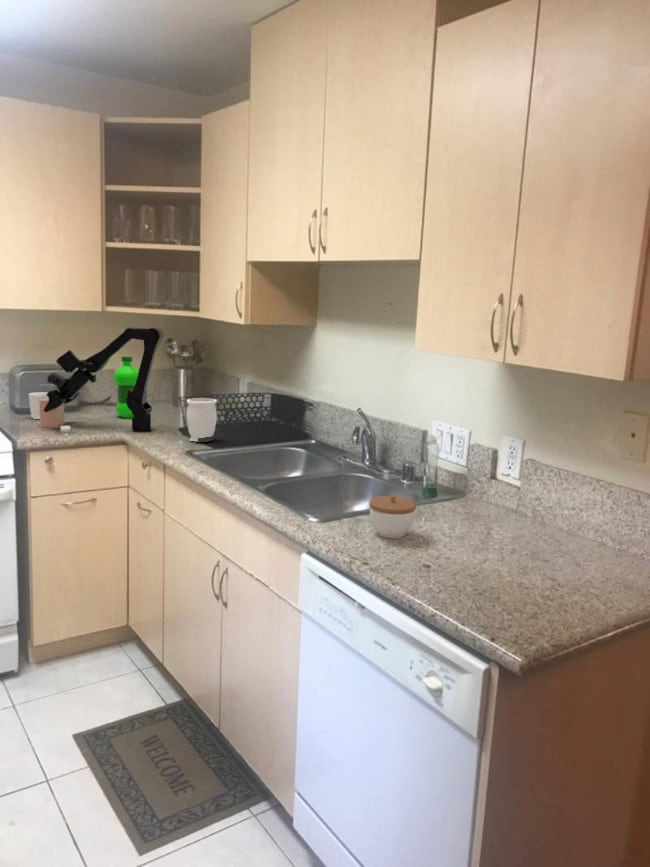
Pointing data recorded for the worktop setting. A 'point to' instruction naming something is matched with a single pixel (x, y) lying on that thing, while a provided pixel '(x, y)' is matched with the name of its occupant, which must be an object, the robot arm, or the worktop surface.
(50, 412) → the pink square bottle
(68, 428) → the white smooth rounded piece
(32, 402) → the white cup
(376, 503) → the lidded jar
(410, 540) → the worktop surface
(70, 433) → the grey curved piece
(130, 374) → the plastic bottle
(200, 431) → the jar
